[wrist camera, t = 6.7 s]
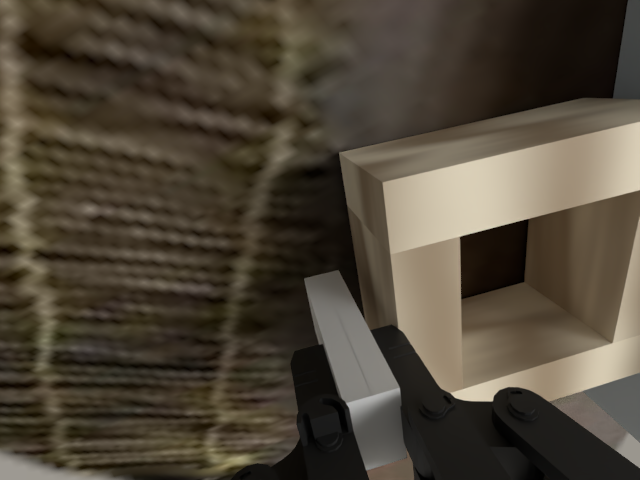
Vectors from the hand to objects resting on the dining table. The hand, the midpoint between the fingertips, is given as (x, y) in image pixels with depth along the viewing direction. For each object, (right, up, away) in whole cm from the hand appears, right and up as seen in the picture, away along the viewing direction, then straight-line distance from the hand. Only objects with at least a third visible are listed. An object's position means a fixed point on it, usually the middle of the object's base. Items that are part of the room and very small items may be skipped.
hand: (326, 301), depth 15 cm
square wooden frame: (+7, +3, +2) cm, 7 cm away
